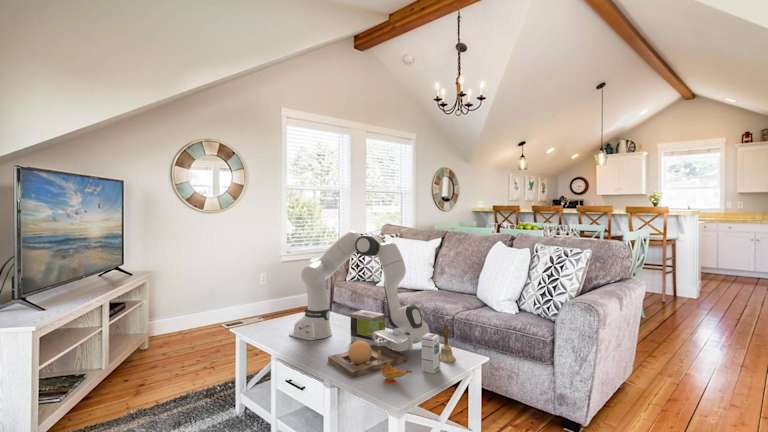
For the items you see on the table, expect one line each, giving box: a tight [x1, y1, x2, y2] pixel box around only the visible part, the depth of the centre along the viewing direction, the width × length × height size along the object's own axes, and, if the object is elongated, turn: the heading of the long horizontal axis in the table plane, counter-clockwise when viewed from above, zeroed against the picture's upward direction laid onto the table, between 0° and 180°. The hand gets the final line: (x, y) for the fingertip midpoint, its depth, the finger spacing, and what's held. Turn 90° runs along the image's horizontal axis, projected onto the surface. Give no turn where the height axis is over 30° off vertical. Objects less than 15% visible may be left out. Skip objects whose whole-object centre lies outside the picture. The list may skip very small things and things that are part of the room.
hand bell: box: [440, 322, 457, 363], centre depth 176 cm, size 8×8×16 cm
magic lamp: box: [377, 349, 413, 385], centre depth 153 cm, size 7×18×11 cm, turn 48°
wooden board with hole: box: [327, 345, 408, 379], centre depth 173 cm, size 28×20×2 cm
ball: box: [347, 341, 372, 366], centre depth 170 cm, size 10×10×10 cm
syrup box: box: [420, 332, 441, 374], centre depth 164 cm, size 6×6×14 cm
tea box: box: [350, 309, 386, 346], centre depth 197 cm, size 15×10×15 cm
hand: (375, 343), depth 175 cm, fingers closed
